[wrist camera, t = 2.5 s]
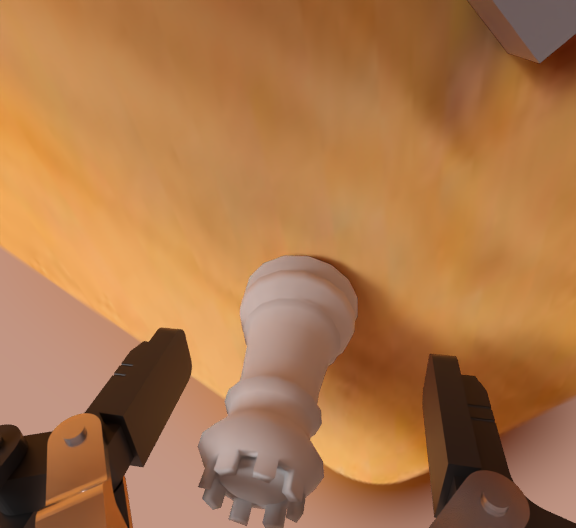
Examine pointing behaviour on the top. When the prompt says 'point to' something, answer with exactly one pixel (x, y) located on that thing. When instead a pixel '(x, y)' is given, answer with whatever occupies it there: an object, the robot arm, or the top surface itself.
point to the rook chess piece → (278, 390)
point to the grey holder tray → (529, 25)
